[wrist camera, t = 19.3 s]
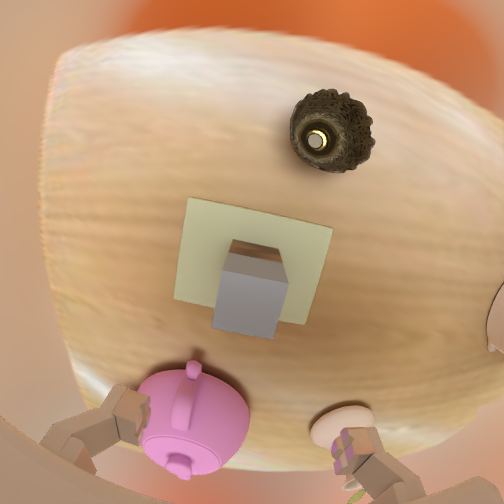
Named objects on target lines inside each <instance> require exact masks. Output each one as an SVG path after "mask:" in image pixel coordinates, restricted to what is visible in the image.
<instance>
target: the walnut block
mask: <svg viewBox="0 0 504 504" xmlns="http://www.w3.org/2000/svg"><path fill="white" fill-rule="evenodd" d="M229 252H230V253H235V254H240V255H244V256H249V257H254V258H259V259H264V260H268V261H273V262H278V263H283V261H282V258H281V255H280V252H279V249H277V248H273V247H268V246H263V245H259V244H254V243H249V242H244V241H240V240H235V239H233V240H232V243H231V246H230V249H229Z"/></svg>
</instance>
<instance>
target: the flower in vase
mask: <svg viewBox="0 0 504 504" xmlns="http://www.w3.org/2000/svg"><path fill="white" fill-rule="evenodd" d="M373 424H374V414H373V412H372V411H371V410H370V409H368V408H366V407H363V406H356V405H355V406H345V407H341V408H338V409H335V410H333V411H331V412H329V413H327V414H325V415H323V416H322V417H321V418H319V419H318V420H317V421H316V422H315V424H314V425H313V427H312V428H311V431H310V438H311V440H312V441H313V442H314V443H315V444H316V445H317V446H319V447H322V448H325V449H329V450H331V447H332V443H333V441H334V440H335V438H337V437H338V436H340V431H341V430H342V429H343V428H345V427H373ZM360 488H362V486H361V485H360V483H359V482H358V481H357V480H356V479H355V478H354V477H353V474H349V475H347V476H346V480H345V483H344V484H343V486H342V489H343V490H346V491H349V490H350V491H351V490H356V489H360ZM365 492H366V490H365V489H362V490H360V491H358V492H357V493H356V494H354V495H353V496H352V497H351V499H350V500H349V502H348V503H347V504H352V503H354V502H356V501H358V500H359V499H360V498H362V496H363V495H364V494H365Z"/></svg>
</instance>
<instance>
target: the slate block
mask: <svg viewBox="0 0 504 504" xmlns="http://www.w3.org/2000/svg"><path fill="white" fill-rule="evenodd" d="M288 286H289V282H288V279H287V276H286V272H285V269H284V266H283V263H278V262H273V261H268V260H264V259H259V258H254V257H249V256H244V255H240V254H235V253H230V252H228V255H227V257H226V260H225V263H224V266H223V269H222V273H221V278H220V284H219V289H218V294H217V300H216V305H215V311H214V316H213V322H212V328H214V329H218V330H223V331H228V332H233V333H238V334H243V335H249V336H254V337H260V338H265V339H271V340H273V337H274V334H275V331H276V327H277V324H278V321H279V317H280V314H281V310H282V307H283V304H284V300H285V297H286V293H287V289H288Z"/></svg>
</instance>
